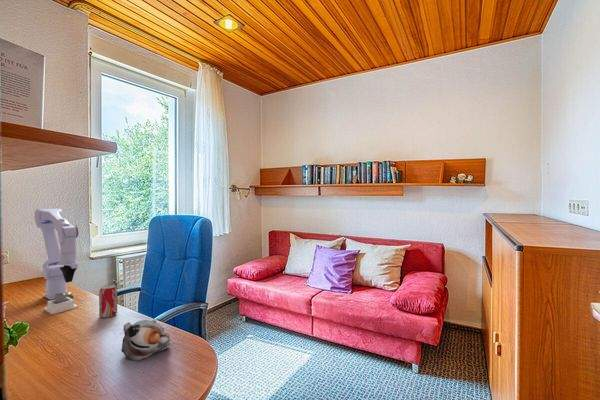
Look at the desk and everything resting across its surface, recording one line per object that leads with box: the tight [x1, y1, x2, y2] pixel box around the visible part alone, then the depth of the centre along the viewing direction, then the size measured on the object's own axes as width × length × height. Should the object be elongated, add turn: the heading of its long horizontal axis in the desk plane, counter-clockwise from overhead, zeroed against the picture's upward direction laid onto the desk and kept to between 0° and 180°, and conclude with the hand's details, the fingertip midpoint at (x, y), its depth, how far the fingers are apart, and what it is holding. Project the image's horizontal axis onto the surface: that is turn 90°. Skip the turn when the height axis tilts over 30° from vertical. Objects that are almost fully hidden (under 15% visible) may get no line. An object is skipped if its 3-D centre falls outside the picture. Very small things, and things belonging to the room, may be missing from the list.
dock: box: [43, 294, 79, 315], centre depth 133 cm, size 12×11×3 cm
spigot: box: [54, 293, 66, 304], centre depth 131 cm, size 4×4×6 cm
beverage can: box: [98, 284, 118, 319], centre depth 124 cm, size 6×6×12 cm
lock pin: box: [66, 291, 73, 297], centre depth 138 cm, size 3×3×4 cm
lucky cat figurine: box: [121, 319, 171, 362], centre depth 94 cm, size 15×12×14 cm
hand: (68, 281), depth 139 cm, fingers closed
